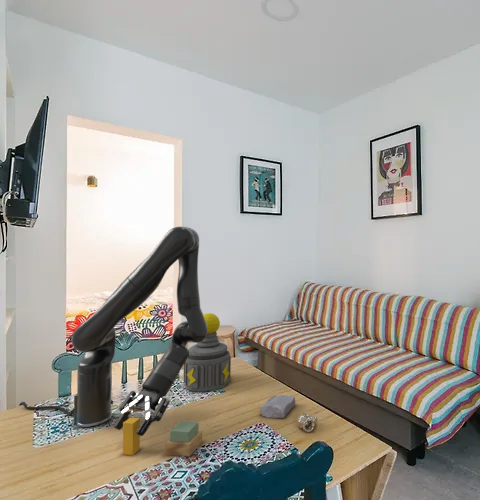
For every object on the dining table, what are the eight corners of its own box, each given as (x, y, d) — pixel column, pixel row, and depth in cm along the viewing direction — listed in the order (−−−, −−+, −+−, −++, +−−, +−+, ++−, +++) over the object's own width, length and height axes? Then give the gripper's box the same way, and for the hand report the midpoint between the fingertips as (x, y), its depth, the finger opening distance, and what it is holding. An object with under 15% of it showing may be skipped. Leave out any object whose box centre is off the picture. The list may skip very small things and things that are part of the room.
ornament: (322, 429, 113) (322, 418, 113) (302, 435, 110) (302, 423, 110) (312, 418, 120) (312, 408, 120) (293, 423, 117) (293, 412, 117)
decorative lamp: (239, 378, 154) (241, 311, 154) (210, 395, 137) (211, 319, 136) (204, 373, 160) (205, 308, 160) (172, 388, 142) (173, 315, 142)
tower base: (165, 455, 98) (165, 442, 98) (179, 441, 105) (179, 429, 105) (189, 456, 98) (189, 444, 98) (202, 442, 105) (202, 430, 105)
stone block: (258, 421, 121) (285, 419, 119) (256, 407, 121) (283, 404, 119) (273, 407, 132) (297, 405, 130) (271, 394, 133) (295, 392, 131)
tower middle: (169, 441, 99) (169, 430, 99) (180, 431, 104) (180, 421, 104) (188, 442, 98) (188, 431, 98) (198, 432, 104) (198, 422, 104)
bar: (122, 454, 98) (122, 422, 98) (130, 448, 101) (130, 417, 101) (132, 455, 98) (133, 423, 98) (140, 449, 101) (140, 418, 101)
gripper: (137, 368, 109) (100, 422, 98) (173, 374, 104) (138, 432, 93) (152, 379, 114) (118, 431, 103) (186, 386, 109) (154, 441, 98)
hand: (127, 431), depth 98 cm, fingers open, 8 cm apart
